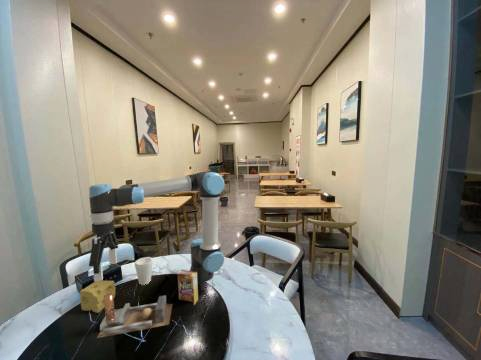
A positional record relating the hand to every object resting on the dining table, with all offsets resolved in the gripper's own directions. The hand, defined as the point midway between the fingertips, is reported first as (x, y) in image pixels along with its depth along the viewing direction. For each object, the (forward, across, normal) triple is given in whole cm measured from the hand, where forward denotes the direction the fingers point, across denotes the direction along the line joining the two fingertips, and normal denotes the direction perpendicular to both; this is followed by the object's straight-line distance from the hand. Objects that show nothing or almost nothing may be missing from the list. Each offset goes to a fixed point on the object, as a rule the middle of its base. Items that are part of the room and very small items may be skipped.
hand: (106, 271), depth 83 cm
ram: (+23, 0, +2) cm, 23 cm away
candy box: (+25, -8, +32) cm, 42 cm away
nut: (+23, 0, +15) cm, 28 cm away
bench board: (+25, 0, +11) cm, 27 cm away
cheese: (+25, -17, -12) cm, 33 cm away
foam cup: (+25, -32, +6) cm, 41 cm away
